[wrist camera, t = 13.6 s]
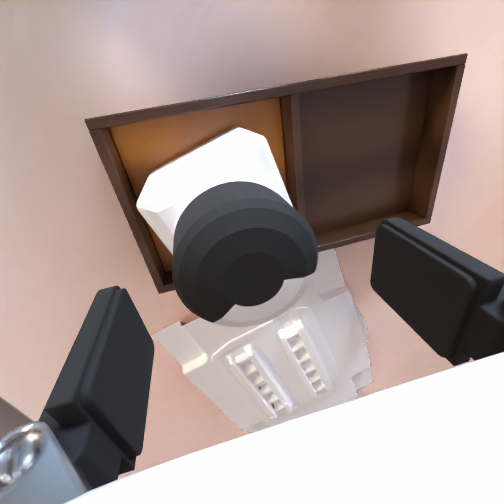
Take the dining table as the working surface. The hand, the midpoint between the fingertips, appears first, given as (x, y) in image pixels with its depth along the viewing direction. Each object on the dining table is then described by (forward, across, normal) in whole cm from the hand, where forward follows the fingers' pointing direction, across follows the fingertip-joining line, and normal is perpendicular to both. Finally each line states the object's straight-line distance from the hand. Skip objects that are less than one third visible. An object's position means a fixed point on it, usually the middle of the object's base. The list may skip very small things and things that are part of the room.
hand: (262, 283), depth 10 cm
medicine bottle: (+12, 0, 0) cm, 13 cm away
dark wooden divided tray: (+13, -6, 0) cm, 14 cm away
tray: (+13, -4, +24) cm, 27 cm away
